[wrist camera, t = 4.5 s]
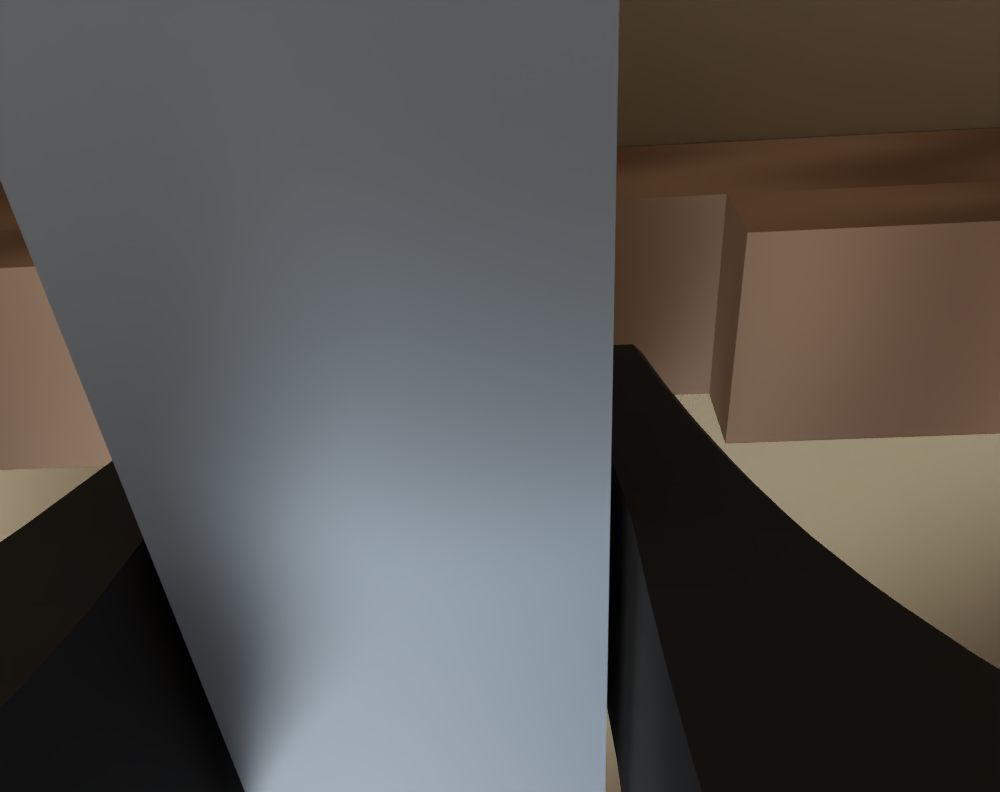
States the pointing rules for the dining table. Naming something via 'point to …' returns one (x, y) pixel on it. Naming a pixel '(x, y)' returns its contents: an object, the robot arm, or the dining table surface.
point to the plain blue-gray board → (347, 359)
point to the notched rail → (715, 293)
